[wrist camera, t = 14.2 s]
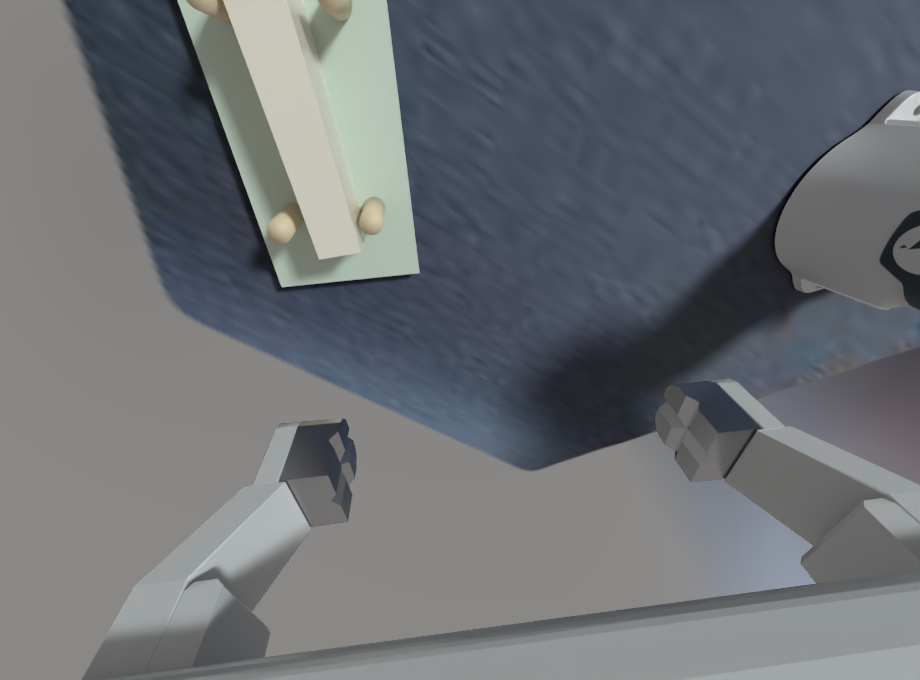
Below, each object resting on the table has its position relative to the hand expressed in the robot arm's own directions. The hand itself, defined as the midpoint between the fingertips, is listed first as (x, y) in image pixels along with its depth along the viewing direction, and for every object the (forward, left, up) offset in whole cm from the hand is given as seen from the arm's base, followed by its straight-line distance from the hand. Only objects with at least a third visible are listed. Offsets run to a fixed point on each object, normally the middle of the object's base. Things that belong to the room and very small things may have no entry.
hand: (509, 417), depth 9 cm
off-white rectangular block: (+8, -6, -24) cm, 26 cm away
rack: (+8, -6, -26) cm, 27 cm away
